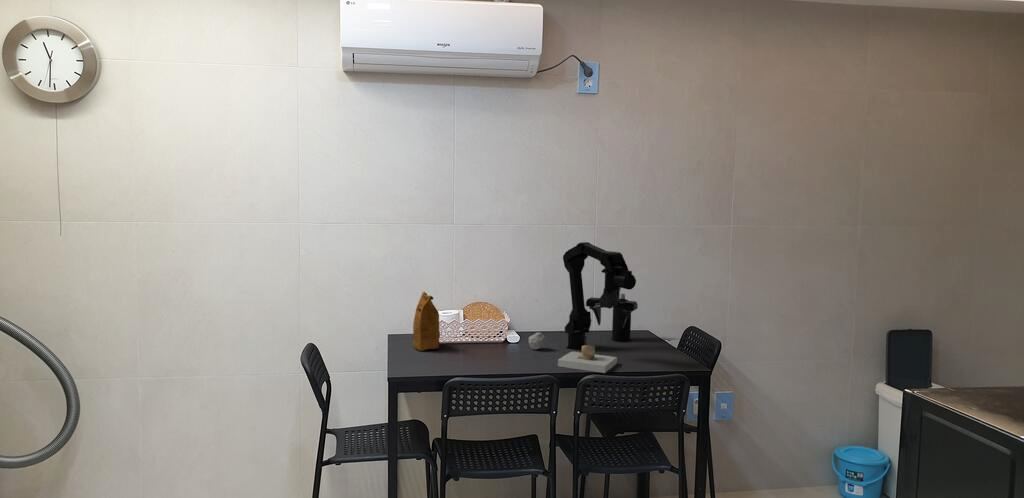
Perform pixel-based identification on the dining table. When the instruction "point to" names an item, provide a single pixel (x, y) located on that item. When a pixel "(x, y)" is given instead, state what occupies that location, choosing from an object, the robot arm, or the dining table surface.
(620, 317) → the aerosol can
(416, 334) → the coffee package
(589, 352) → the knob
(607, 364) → the hub plate
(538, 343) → the grey rock
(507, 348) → the dining table surface
